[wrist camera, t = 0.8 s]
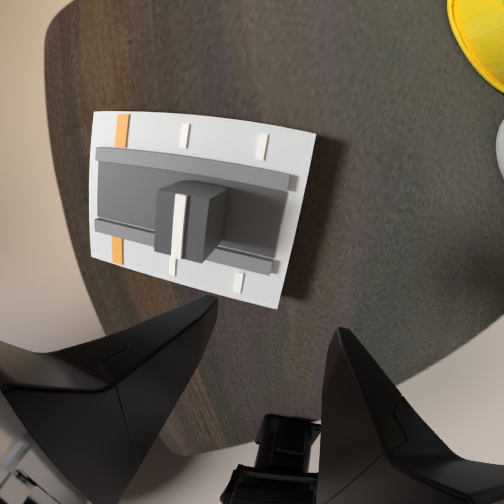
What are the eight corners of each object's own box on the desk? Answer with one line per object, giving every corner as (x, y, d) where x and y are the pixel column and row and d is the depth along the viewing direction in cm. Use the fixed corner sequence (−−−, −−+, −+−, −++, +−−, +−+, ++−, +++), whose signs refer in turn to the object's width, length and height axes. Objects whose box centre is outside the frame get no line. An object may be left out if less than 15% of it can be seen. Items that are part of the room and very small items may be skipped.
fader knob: (221, 242, 19) (200, 265, 16) (179, 232, 20) (152, 252, 16) (228, 187, 18) (207, 200, 14) (184, 179, 18) (155, 190, 15)
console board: (280, 295, 22) (276, 313, 20) (104, 248, 24) (87, 258, 22) (315, 134, 18) (316, 133, 15) (109, 111, 20) (89, 111, 17)
